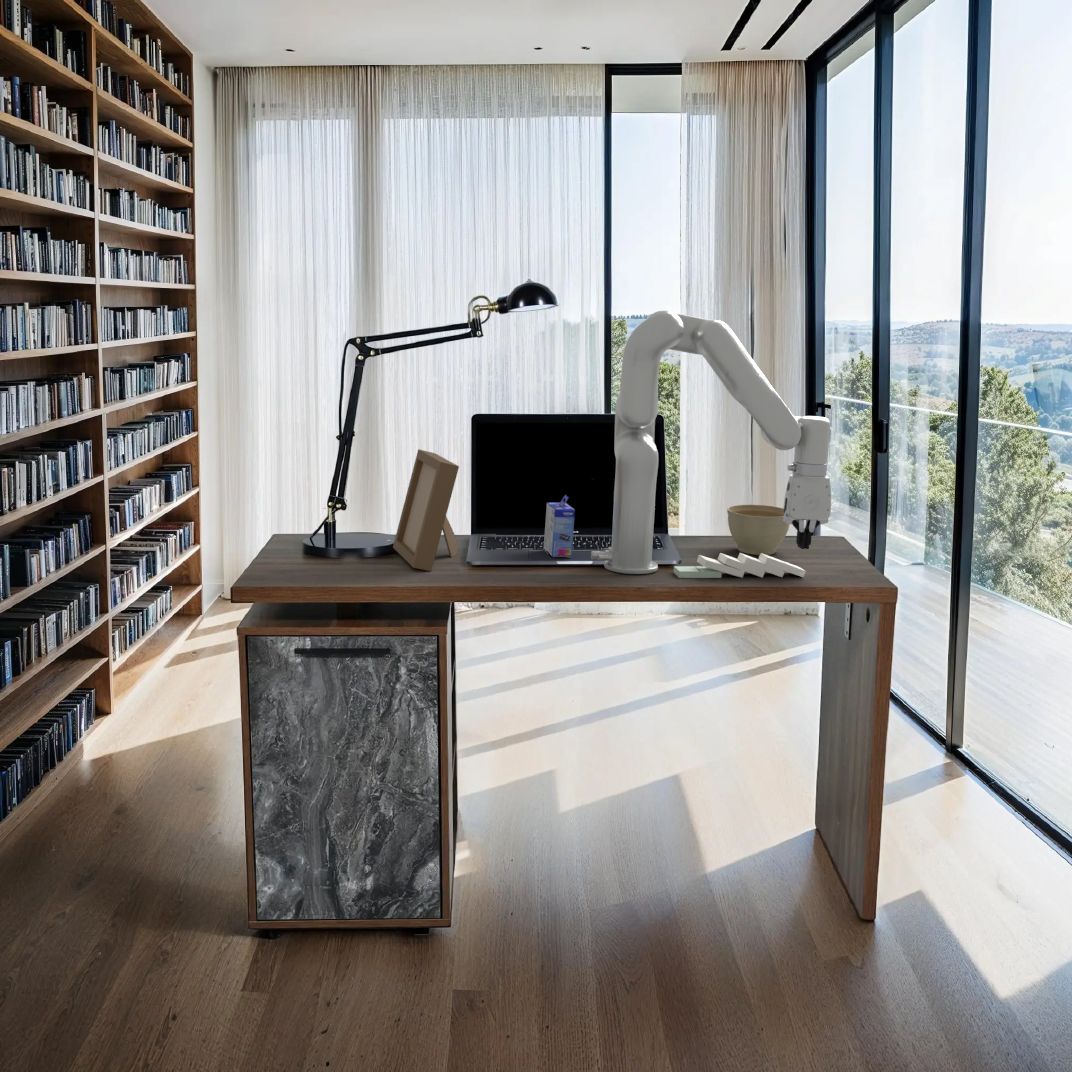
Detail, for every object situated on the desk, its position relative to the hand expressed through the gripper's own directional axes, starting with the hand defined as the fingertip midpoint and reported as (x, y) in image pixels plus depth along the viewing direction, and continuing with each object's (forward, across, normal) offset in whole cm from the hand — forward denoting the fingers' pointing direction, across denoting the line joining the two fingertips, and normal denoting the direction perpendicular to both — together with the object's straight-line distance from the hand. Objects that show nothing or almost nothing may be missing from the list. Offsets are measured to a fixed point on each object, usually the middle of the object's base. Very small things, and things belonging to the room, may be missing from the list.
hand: (803, 547), depth 266 cm
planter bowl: (+7, -2, +25) cm, 26 cm away
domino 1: (+6, -20, 0) cm, 21 cm away
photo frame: (+7, -86, +14) cm, 87 cm away
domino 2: (+6, -15, 0) cm, 16 cm away
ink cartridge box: (+7, -54, +21) cm, 59 cm away
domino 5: (+6, 0, 0) cm, 6 cm away
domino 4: (+6, -5, 0) cm, 8 cm away
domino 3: (+6, -10, 0) cm, 12 cm away
